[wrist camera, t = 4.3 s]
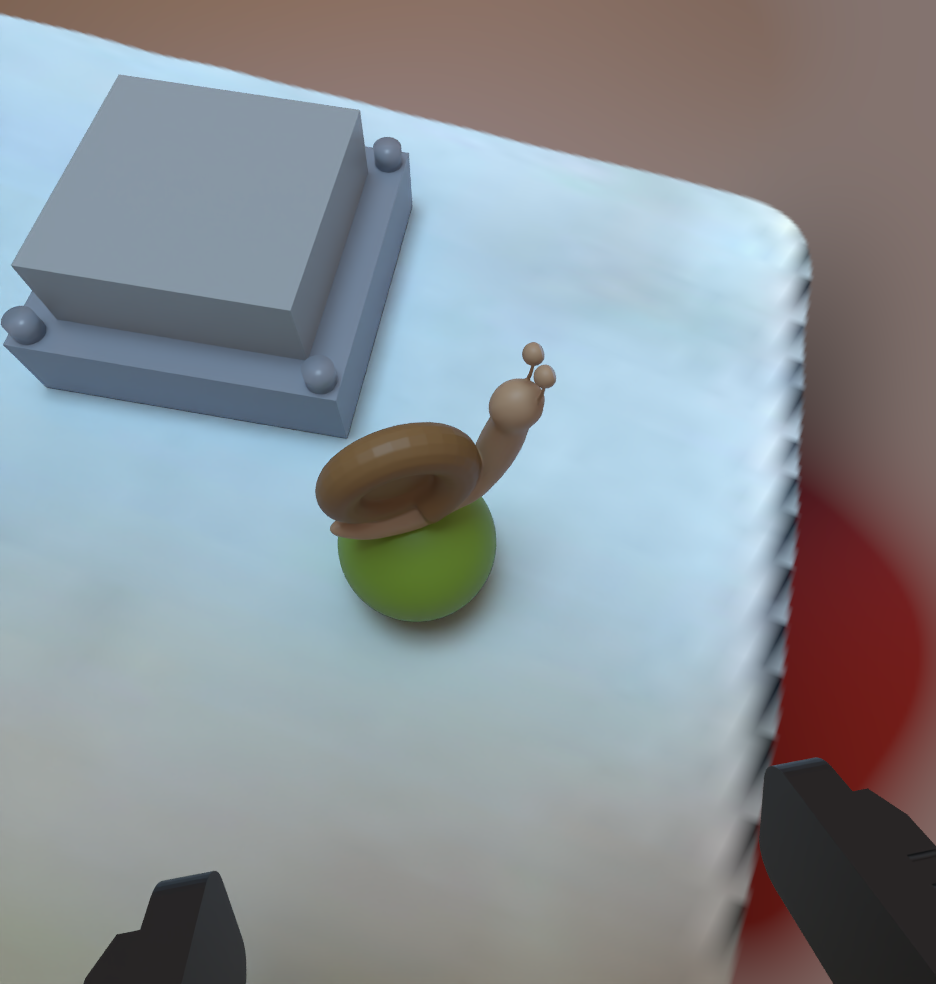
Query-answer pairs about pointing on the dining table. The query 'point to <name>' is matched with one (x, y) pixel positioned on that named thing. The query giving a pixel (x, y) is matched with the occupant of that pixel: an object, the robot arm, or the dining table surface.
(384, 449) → the snail figurine
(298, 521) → the dining table surface
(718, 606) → the dining table surface
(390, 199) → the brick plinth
